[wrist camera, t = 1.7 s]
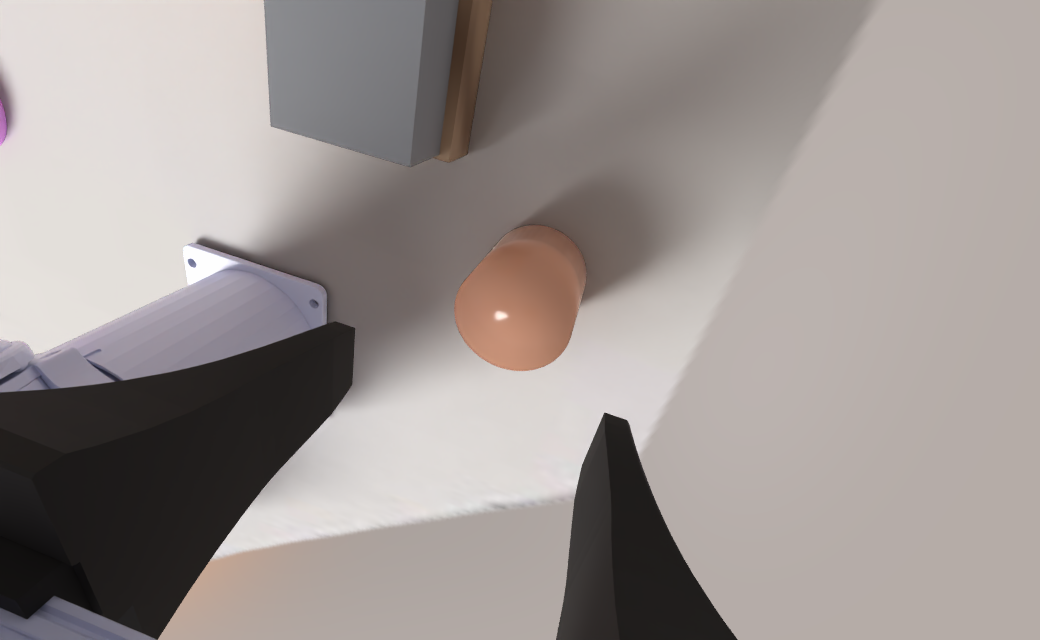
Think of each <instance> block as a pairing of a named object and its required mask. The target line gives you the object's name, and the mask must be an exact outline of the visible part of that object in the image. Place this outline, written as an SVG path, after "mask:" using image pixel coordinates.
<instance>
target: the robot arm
mask: <svg viewBox="0 0 1040 640" xmlns="http://www.w3.org/2000/svg"><path fill="white" fill-rule="evenodd" d="M183 254H184V261H185V267H186V273H187V280H188V286H186V287H184V288H182V289H180V290H178V291H175V292H173V293H171V294H169V295H167V296H165V297H163V298H160V299H158V300H156V301H154V302H152V303H150V304H148V305H145V306H143V307H141V308H139V309H137V310H135V311H132V312H130V313H128V314H126V315H124V316H122V317H120V318H117V319H115V320H113V321H111V322H109V323H107V324H105V325H102V326H100V327H98V328H96V329H94V330H92V331H90V332H87V333H85V334H83V335H81V336H79V337H77V338H74V339H72V340H70V341H68V342H66V343H64V344H62V345H59V346H57V347H55V348H53V349H51V350H49V351H47V352H44V353H40V354H35V355H34V353H33V352H32V350H31V349H30V347H29V346H28V345H27V344H26V343H25V342H22V341H13V342H10V341H7V340H2V339H0V640H158V638H159V636H160V635H161V633H162V632H163V630H164V629H165V627H166V626H167V624H168V622H169V621H170V619H171V618H172V616H173V615H174V613H175V612H176V610H177V608H178V607H179V605H180V604H181V602H182V601H183V599H184V598H185V596H186V595H187V593H188V591H189V590H190V588H191V587H192V585H193V584H194V583H195V581H196V580H197V578H198V577H199V575H200V574H201V572H202V571H203V570H204V568H205V567H206V565H207V564H208V562H209V561H210V559H211V558H212V557H213V555H214V554H215V552H216V551H217V549H218V548H219V547H220V545H221V544H222V542H223V541H224V540H225V538H226V537H227V536H228V534H229V533H230V532H231V530H232V529H233V527H234V526H235V525H236V523H237V522H238V521H239V519H240V518H241V516H242V515H243V514H244V513H245V511H246V510H247V509H248V507H249V506H250V505H251V503H252V502H253V501H254V500H255V498H256V497H257V496H258V494H259V493H260V492H261V490H262V489H263V488H264V487H265V485H266V484H267V483H268V482H269V481H270V480H271V478H272V477H273V476H274V475H275V474H276V473H277V472H278V471H279V469H280V468H281V467H282V466H283V465H284V464H285V463H286V462H287V461H288V460H289V459H290V458H291V457H292V456H293V455H294V454H295V452H296V451H297V450H298V449H299V448H300V447H301V446H302V445H303V444H304V443H305V442H306V441H307V440H308V439H309V438H310V437H311V435H312V434H313V433H314V432H315V431H316V430H317V429H318V428H319V427H320V426H321V425H322V424H323V423H324V421H325V420H326V419H327V418H328V417H329V416H330V415H331V414H332V412H333V411H334V410H335V408H336V407H337V406H338V404H339V403H340V402H341V400H342V399H343V397H344V396H345V394H346V393H347V391H348V390H349V389H350V387H351V386H352V378H353V358H354V339H355V328H353V327H350V326H347V325H344V324H341V323H338V322H332V323H328V324H327V293H326V291H325V289H324V288H323V287H322V286H321V285H319V284H316V283H313V282H310V281H307V280H304V279H301V278H298V277H295V276H292V275H289V274H286V273H283V272H280V271H277V270H274V269H271V268H268V267H265V266H262V265H259V264H256V263H253V262H250V261H247V260H244V259H241V258H238V257H235V256H232V255H229V254H226V253H223V252H220V251H217V250H214V249H211V248H208V247H205V246H202V245H198V244H195V243H191V244H188V245H186V246H184V248H183ZM314 300H316V301H317V302H318V305H317V304H316V303H315V302H314ZM556 640H737V638H736V637H735V636H734V634H733V633H732V632H731V630H730V629H729V628H728V626H727V625H726V623H725V622H724V621H723V619H722V618H721V617H720V615H719V614H718V612H717V611H716V609H715V608H714V606H713V605H712V603H711V601H710V600H709V598H708V597H707V595H706V594H705V592H704V591H703V589H702V588H701V586H700V585H699V583H698V581H697V580H696V578H695V577H694V575H693V574H692V572H691V570H690V568H689V567H688V565H687V563H686V562H685V560H684V558H683V557H682V555H681V553H680V551H679V549H678V547H677V545H676V543H675V542H674V540H673V538H672V536H671V534H670V532H669V530H668V528H667V525H666V523H665V521H664V519H663V517H662V515H661V512H660V510H659V508H658V506H657V504H656V501H655V499H654V496H653V494H652V491H651V489H650V486H649V484H648V481H647V478H646V476H645V473H644V471H643V468H642V465H641V462H640V459H639V456H638V453H637V450H636V446H635V443H634V440H633V436H632V433H631V429H630V425H629V423H628V421H627V420H625V419H622V418H619V417H616V416H613V415H610V414H607V413H604V415H603V417H602V420H601V422H600V424H599V427H598V429H597V431H596V434H595V436H594V438H593V441H592V443H591V446H590V448H589V450H588V453H587V455H586V457H585V460H584V462H583V464H582V468H581V472H580V477H579V481H578V486H577V491H576V495H575V500H574V509H573V520H572V529H571V539H570V549H569V559H568V570H567V580H566V588H565V596H564V602H563V607H562V612H561V617H560V622H559V627H558V633H557V638H556Z"/></svg>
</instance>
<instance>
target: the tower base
mask: <svg viewBox="0 0 1040 640" xmlns="http://www.w3.org/2000/svg"><path fill="white" fill-rule="evenodd" d="M491 6H492V0H459V4H458V11H457V19H456V27H455V35H454V43H453V51H452V59H451V67H450V75H449V83H448V90H447V98H446V106H445V114H444V122H443V130H442V137H441V145H440V153H439V155H438V156H436V157H433V158H435V159H438V160H441V161H445V162H448V163H449V162H452V161H454V160H456V159H458V158H461V157H463V156H465V155H467V153H468V146H469V140H470V134H471V128H472V122H473V116H474V110H475V104H476V98H477V92H478V86H479V79H480V73H481V67H482V61H483V55H484V49H485V43H486V37H487V31H488V25H489V19H490V12H491Z"/></svg>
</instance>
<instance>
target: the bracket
mask: <svg viewBox="0 0 1040 640" xmlns="http://www.w3.org/2000/svg"><path fill="white" fill-rule="evenodd" d="M6 130H7V124H6V116H5V112H4V108H3V105H2V102H1V100H0V145H1V144H2V143H3V141H4V139H5V136H6Z"/></svg>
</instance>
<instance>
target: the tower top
mask: <svg viewBox="0 0 1040 640" xmlns="http://www.w3.org/2000/svg"><path fill="white" fill-rule="evenodd" d="M458 4H459V0H264V8H265V27H266V46H267V65H268V84H269V103H270V122H271V127H275V128H278V129H282V130H285V131H288V132H292V133H295V134H299V135H302V136H305V137H309V138H312V139H316V140H319V141H322V142H326V143H329V144H333V145H336V146H339V147H343V148H346V149H350V150H353V151H356V152H360V153H363V154H367V155H370V156H374V157H377V158H380V159H384V160H387V161H391V162H394V163H397V164H401V165H404V166H408V167H412V166H414V165H416V164H419V163H421V162H424V161H426V160H428V159H431V158H433V157H436V156H438V155H439V153H440V145H441V137H442V130H443V122H444V114H445V106H446V98H447V90H448V83H449V75H450V67H451V59H452V51H453V43H454V35H455V27H456V19H457V11H458Z"/></svg>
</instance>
